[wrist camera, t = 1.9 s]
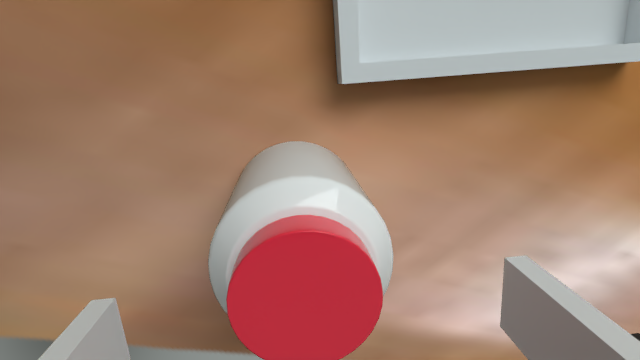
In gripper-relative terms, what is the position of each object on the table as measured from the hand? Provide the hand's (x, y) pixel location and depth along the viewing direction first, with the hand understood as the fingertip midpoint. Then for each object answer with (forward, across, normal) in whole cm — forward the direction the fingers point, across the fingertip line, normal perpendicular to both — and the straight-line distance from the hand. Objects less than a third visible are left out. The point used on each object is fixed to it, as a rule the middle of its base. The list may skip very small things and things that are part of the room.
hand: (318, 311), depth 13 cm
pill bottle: (+12, 0, 0) cm, 12 cm away
